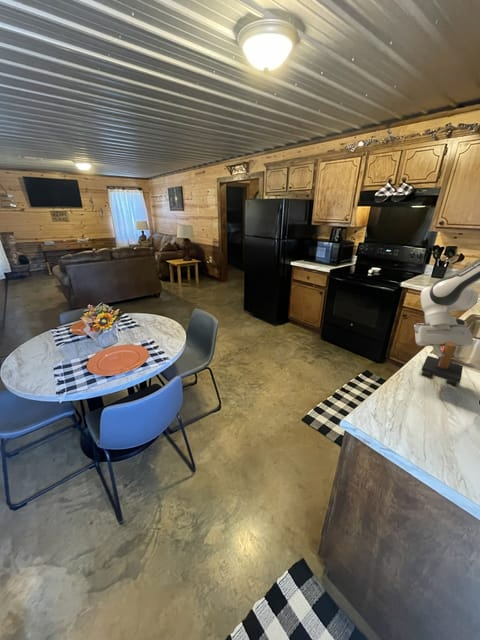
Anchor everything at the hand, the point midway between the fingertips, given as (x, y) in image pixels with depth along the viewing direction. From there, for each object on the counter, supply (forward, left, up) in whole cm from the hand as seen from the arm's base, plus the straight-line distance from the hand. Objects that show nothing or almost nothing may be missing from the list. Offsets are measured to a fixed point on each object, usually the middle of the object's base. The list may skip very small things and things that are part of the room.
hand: (448, 356), depth 101 cm
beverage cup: (-22, -22, -15) cm, 35 cm away
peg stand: (-1, -2, -6) cm, 7 cm away
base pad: (-9, -9, -15) cm, 20 cm away
